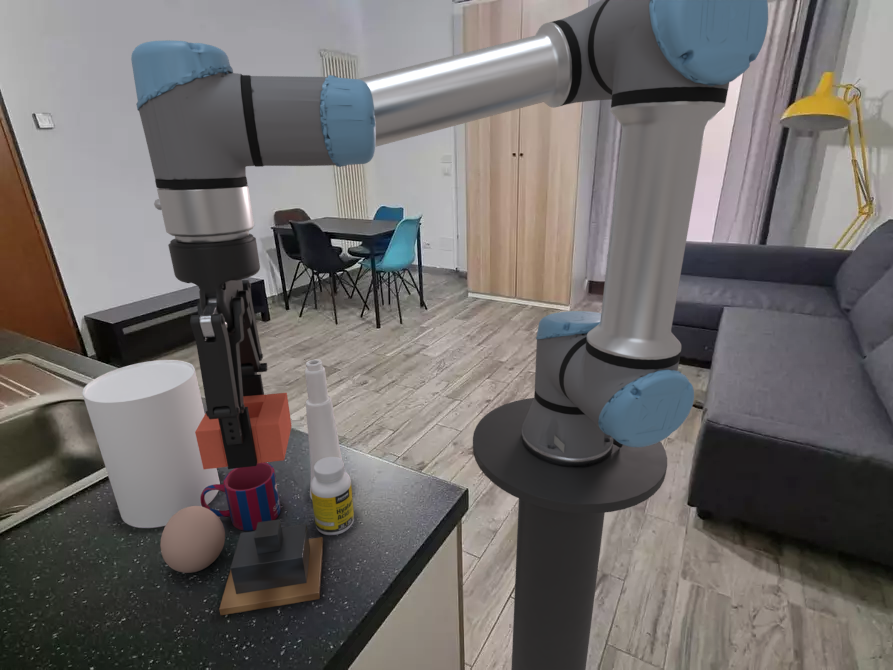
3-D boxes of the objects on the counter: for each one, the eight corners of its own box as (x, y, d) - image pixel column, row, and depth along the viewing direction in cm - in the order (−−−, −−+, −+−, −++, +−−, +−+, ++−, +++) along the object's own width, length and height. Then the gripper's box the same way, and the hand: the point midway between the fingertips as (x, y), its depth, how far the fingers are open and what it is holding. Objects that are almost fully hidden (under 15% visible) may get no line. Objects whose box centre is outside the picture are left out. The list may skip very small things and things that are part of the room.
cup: (278, 527, 68) (271, 487, 66) (202, 538, 66) (191, 498, 64) (283, 496, 74) (276, 458, 72) (213, 506, 72) (204, 468, 70)
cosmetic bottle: (357, 490, 75) (344, 361, 67) (325, 511, 71) (307, 375, 63) (334, 474, 79) (319, 350, 71) (302, 493, 75) (282, 363, 67)
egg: (155, 573, 61) (139, 520, 58) (206, 535, 67) (193, 486, 64) (192, 596, 58) (177, 541, 55) (241, 554, 64) (230, 502, 61)
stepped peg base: (323, 542, 65) (317, 497, 63) (319, 599, 57) (312, 549, 54) (237, 555, 63) (227, 509, 61) (220, 615, 55) (207, 565, 53)
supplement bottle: (342, 540, 66) (335, 480, 62) (308, 531, 67) (299, 472, 64) (361, 514, 70) (356, 457, 67) (329, 506, 72) (321, 450, 69)
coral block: (291, 426, 57) (286, 392, 56) (284, 460, 51) (278, 423, 49) (220, 433, 56) (213, 399, 54) (203, 469, 50) (194, 431, 48)
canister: (97, 522, 70) (55, 399, 62) (163, 466, 82) (134, 357, 75) (182, 532, 67) (149, 405, 60) (236, 473, 80) (214, 362, 73)
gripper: (199, 222, 54) (234, 405, 62) (122, 257, 36) (185, 510, 44) (270, 220, 55) (294, 399, 63) (230, 253, 37) (272, 499, 45)
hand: (250, 444), depth 53 cm, fingers closed on coral block, 7 cm apart
